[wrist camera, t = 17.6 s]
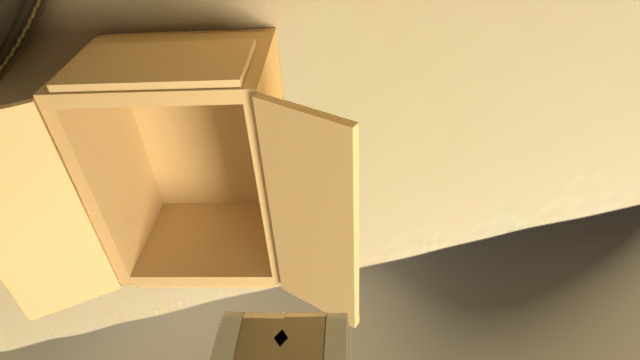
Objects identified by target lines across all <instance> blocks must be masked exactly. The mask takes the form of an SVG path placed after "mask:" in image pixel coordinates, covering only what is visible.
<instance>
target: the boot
mask: <svg viewBox="0 0 640 360" xmlns="http://www.w3.org/2000/svg"><path fill="white" fill-rule="evenodd" d="M47 1H48V0H0V80H1V79H2V78H3V77H4V75H5V74H6V73H7V72H8V71H9V69H10V68H11V67H12V65H13V64H14V62H15V61H16V59H17V58H18V56H19V55H20V53H21V52H22V50H23V49H24V47H25V45H26V44H27V42H28V40H29V38H30V36H31V35H32V33H33V31H34V29H35V27H36V25H37V23H38V21H39V19H40V17H41V15H42V13H43V11H44V9H45V7H46V4H47Z"/></svg>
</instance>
